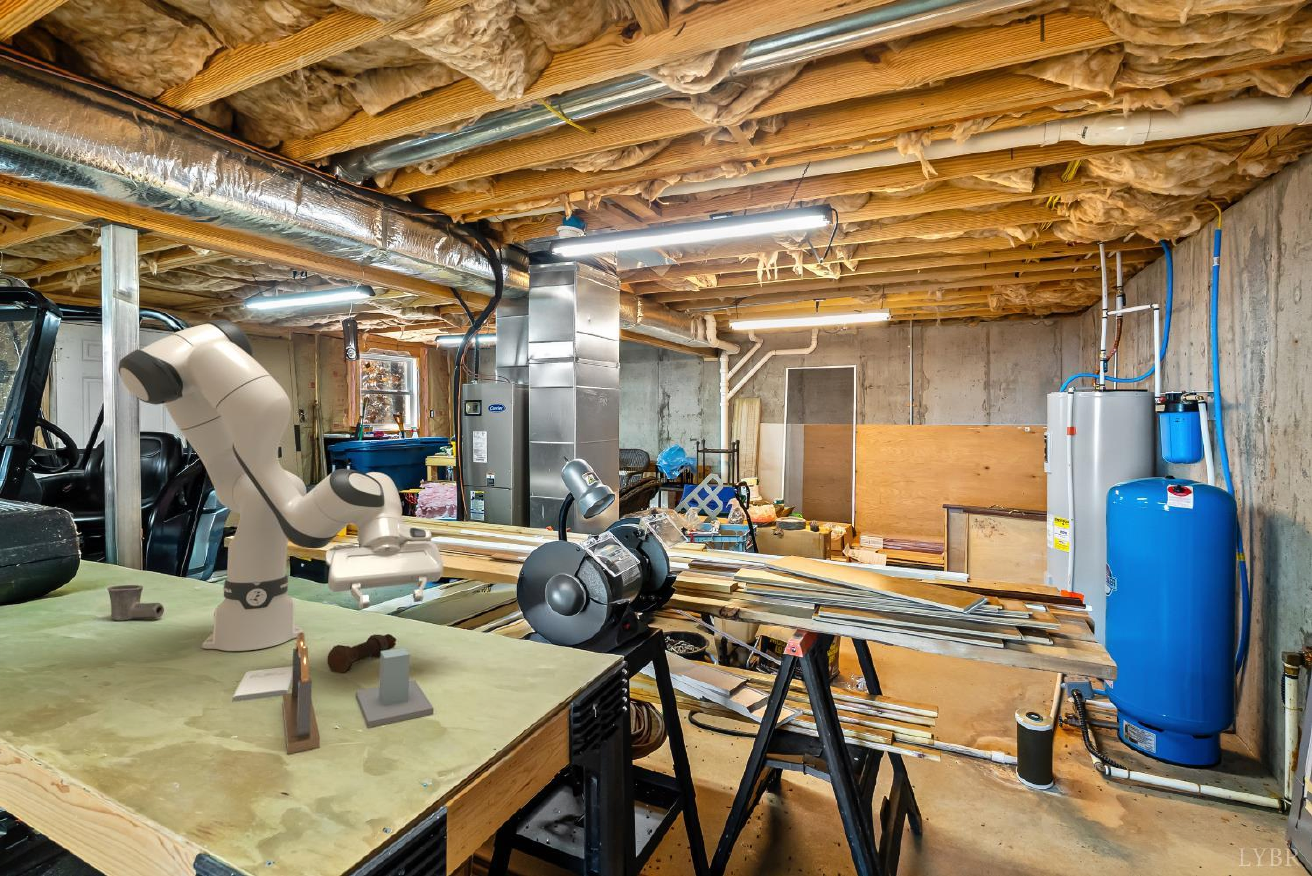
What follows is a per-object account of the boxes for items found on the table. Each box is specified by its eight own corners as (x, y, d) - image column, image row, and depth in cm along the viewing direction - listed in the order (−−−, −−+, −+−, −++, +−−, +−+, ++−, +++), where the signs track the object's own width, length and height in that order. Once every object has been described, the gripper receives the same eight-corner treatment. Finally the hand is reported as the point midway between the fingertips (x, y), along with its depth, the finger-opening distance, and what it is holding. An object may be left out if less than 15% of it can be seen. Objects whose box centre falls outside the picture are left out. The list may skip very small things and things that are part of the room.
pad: (355, 696, 107) (355, 690, 107) (414, 685, 113) (415, 679, 113) (368, 727, 96) (368, 721, 96) (433, 713, 101) (433, 707, 101)
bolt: (393, 658, 132) (339, 680, 118) (377, 644, 134) (322, 664, 119) (405, 636, 132) (353, 656, 117) (389, 622, 133) (335, 640, 119)
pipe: (149, 623, 146) (150, 590, 146) (97, 622, 146) (98, 589, 146) (170, 616, 152) (171, 584, 152) (120, 615, 152) (121, 583, 152)
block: (379, 697, 105) (380, 651, 105) (403, 692, 107) (405, 647, 107) (383, 705, 102) (384, 658, 102) (408, 700, 104) (409, 654, 104)
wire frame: (282, 703, 104) (285, 624, 104) (309, 698, 106) (311, 621, 106) (287, 754, 87) (291, 660, 87) (319, 747, 89) (322, 655, 90)
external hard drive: (232, 705, 104) (245, 679, 115) (287, 698, 108) (295, 673, 119) (232, 695, 104) (245, 670, 115) (287, 688, 108) (295, 665, 119)
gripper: (326, 536, 113) (331, 601, 104) (438, 530, 124) (451, 587, 116) (322, 556, 116) (327, 620, 108) (432, 548, 128) (443, 605, 120)
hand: (392, 603), depth 112 cm, fingers open, 8 cm apart
